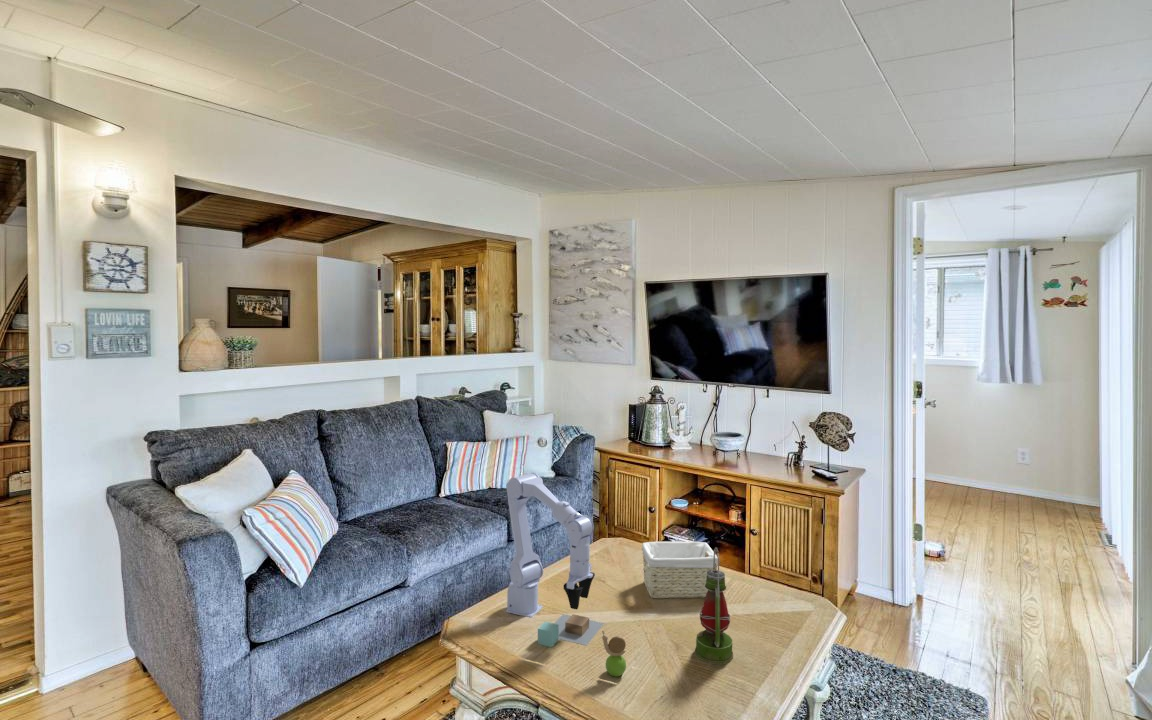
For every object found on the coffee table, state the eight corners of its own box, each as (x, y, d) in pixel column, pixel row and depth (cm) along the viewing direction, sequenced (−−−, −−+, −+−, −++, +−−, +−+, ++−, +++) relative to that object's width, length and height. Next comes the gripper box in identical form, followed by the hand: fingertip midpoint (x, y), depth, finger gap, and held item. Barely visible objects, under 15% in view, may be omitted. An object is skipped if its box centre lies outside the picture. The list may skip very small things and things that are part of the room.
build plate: (543, 636, 177) (543, 635, 177) (562, 615, 189) (563, 614, 189) (586, 646, 171) (586, 645, 171) (604, 624, 184) (604, 623, 184)
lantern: (692, 639, 175) (694, 539, 174) (729, 641, 174) (731, 541, 173) (697, 666, 162) (699, 558, 160) (737, 668, 161) (740, 560, 159)
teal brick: (537, 645, 172) (537, 628, 171) (544, 637, 176) (544, 621, 176) (551, 648, 170) (551, 631, 170) (558, 641, 174) (558, 624, 174)
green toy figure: (600, 669, 160) (601, 626, 159) (624, 668, 160) (624, 625, 160) (603, 681, 155) (603, 636, 154) (627, 680, 155) (628, 635, 154)
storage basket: (705, 579, 217) (706, 539, 216) (718, 600, 201) (719, 557, 200) (640, 581, 215) (640, 541, 214) (648, 602, 199) (649, 558, 198)
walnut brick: (565, 632, 178) (565, 622, 178) (572, 623, 183) (572, 614, 183) (582, 636, 176) (582, 626, 176) (589, 627, 181) (589, 617, 181)
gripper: (583, 569, 168) (582, 616, 169) (601, 551, 181) (600, 595, 182) (560, 565, 170) (559, 611, 171) (579, 547, 184) (579, 590, 185)
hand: (579, 602), depth 177 cm, fingers open, 7 cm apart
